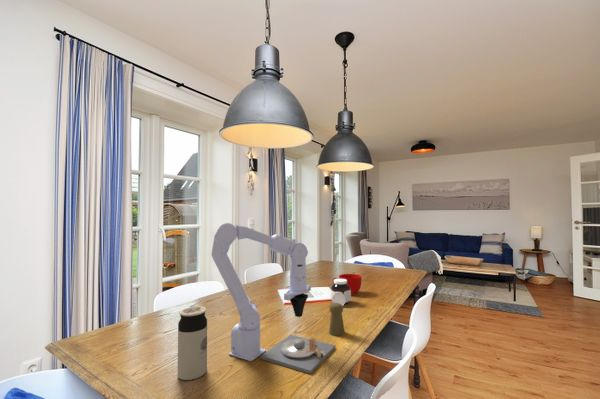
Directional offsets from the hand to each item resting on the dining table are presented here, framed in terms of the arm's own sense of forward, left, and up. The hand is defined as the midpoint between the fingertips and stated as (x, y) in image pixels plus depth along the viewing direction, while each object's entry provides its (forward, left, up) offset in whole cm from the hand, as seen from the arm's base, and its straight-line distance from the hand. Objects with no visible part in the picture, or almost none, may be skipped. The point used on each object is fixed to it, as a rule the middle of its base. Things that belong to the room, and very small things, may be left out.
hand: (298, 316), depth 98 cm
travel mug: (-19, -29, -11) cm, 36 cm away
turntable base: (+2, -4, -10) cm, 11 cm away
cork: (+7, +17, -11) cm, 21 cm away
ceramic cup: (-9, +71, -11) cm, 72 cm away
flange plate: (+4, -4, -9) cm, 11 cm away
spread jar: (-5, +51, -11) cm, 52 cm away
